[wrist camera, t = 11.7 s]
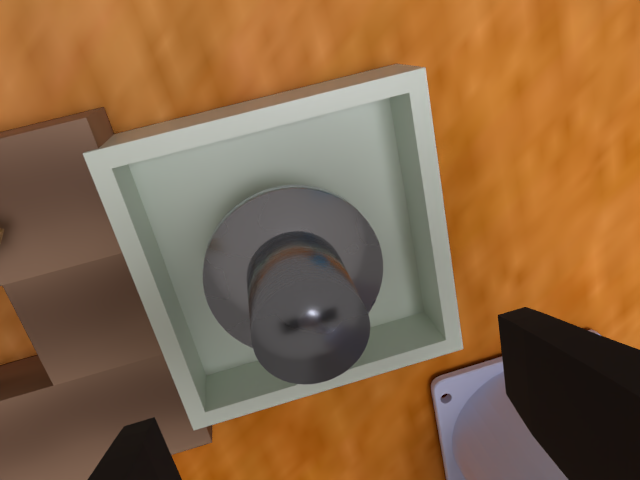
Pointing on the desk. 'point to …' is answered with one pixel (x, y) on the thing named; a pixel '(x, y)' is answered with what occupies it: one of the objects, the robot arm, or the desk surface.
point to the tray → (272, 171)
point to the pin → (295, 280)
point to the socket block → (73, 313)
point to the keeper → (1, 234)
